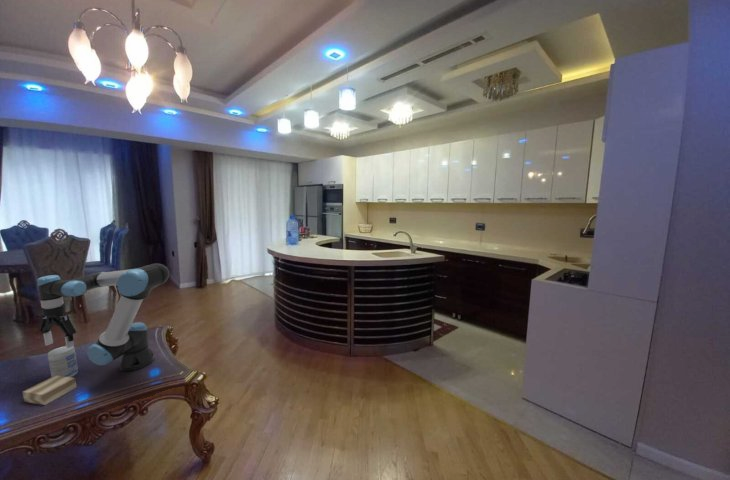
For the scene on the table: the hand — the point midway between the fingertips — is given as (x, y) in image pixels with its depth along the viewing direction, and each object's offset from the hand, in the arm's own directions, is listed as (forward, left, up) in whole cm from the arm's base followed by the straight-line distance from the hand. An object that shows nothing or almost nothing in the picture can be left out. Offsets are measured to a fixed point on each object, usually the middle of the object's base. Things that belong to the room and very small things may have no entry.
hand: (59, 345), depth 142 cm
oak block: (-10, +12, -17) cm, 23 cm away
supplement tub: (0, 0, -17) cm, 17 cm away
